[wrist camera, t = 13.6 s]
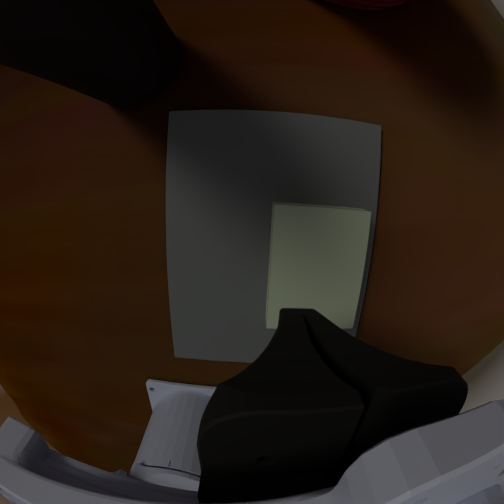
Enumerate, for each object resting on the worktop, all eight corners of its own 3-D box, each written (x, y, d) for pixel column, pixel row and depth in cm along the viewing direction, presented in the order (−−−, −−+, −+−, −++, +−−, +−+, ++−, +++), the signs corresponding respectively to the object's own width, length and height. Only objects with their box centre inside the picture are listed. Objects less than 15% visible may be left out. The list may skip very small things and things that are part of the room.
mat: (347, 358, 21) (349, 361, 21) (176, 354, 21) (174, 356, 21) (378, 126, 17) (381, 125, 16) (171, 112, 17) (169, 111, 16)
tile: (272, 202, 18) (362, 208, 18) (265, 316, 20) (346, 317, 20) (274, 204, 16) (371, 211, 16) (266, 328, 18) (352, 328, 18)
